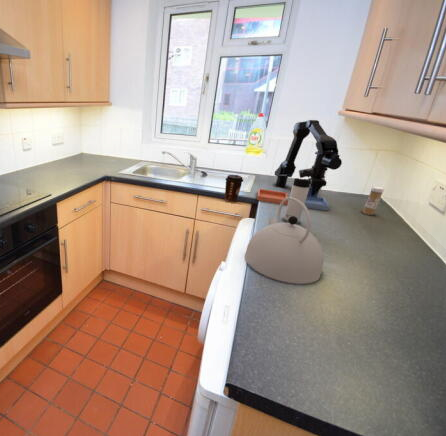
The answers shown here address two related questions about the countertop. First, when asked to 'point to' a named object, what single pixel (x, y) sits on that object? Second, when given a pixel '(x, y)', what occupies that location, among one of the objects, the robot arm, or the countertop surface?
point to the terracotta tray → (272, 196)
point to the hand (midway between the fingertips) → (311, 194)
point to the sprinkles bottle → (373, 200)
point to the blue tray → (316, 203)
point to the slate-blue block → (310, 193)
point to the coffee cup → (232, 187)
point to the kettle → (286, 250)
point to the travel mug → (299, 193)
